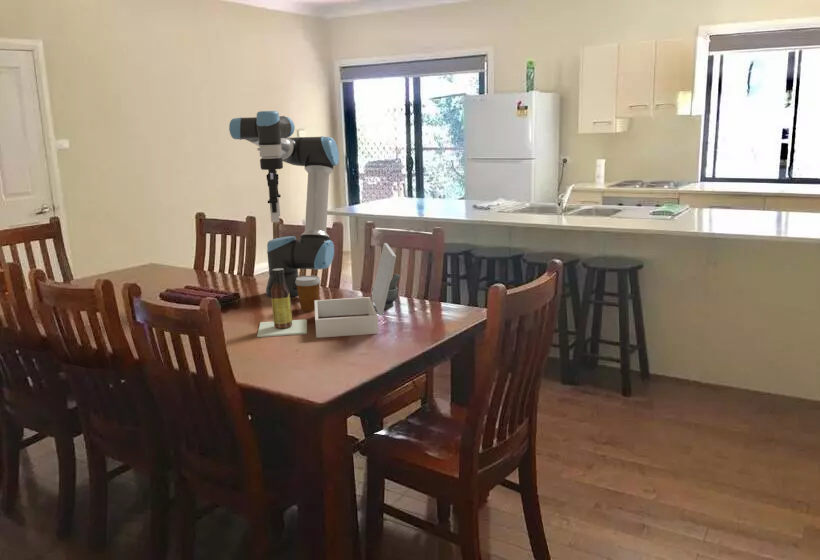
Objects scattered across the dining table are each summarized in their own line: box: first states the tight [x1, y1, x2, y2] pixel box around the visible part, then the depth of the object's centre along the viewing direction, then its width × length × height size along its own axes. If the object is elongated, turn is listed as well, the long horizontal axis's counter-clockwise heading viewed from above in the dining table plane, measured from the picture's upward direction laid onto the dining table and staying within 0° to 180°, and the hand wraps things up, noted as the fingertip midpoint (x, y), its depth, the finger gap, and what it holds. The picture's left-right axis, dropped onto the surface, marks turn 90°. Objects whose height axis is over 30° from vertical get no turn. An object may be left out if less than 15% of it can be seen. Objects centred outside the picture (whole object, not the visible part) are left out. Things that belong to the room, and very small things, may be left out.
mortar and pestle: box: [371, 273, 401, 309], centre depth 257 cm, size 11×9×12 cm
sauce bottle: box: [270, 268, 293, 329], centre depth 230 cm, size 7×6×20 cm
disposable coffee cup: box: [295, 275, 322, 312], centre depth 255 cm, size 10×10×12 cm
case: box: [314, 296, 379, 339], centre depth 234 cm, size 26×20×6 cm
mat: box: [256, 318, 308, 338], centre depth 232 cm, size 16×16×1 cm
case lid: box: [371, 242, 397, 316], centre depth 233 cm, size 26×20×1 cm
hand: (275, 219), depth 239 cm, fingers open, 13 cm apart
